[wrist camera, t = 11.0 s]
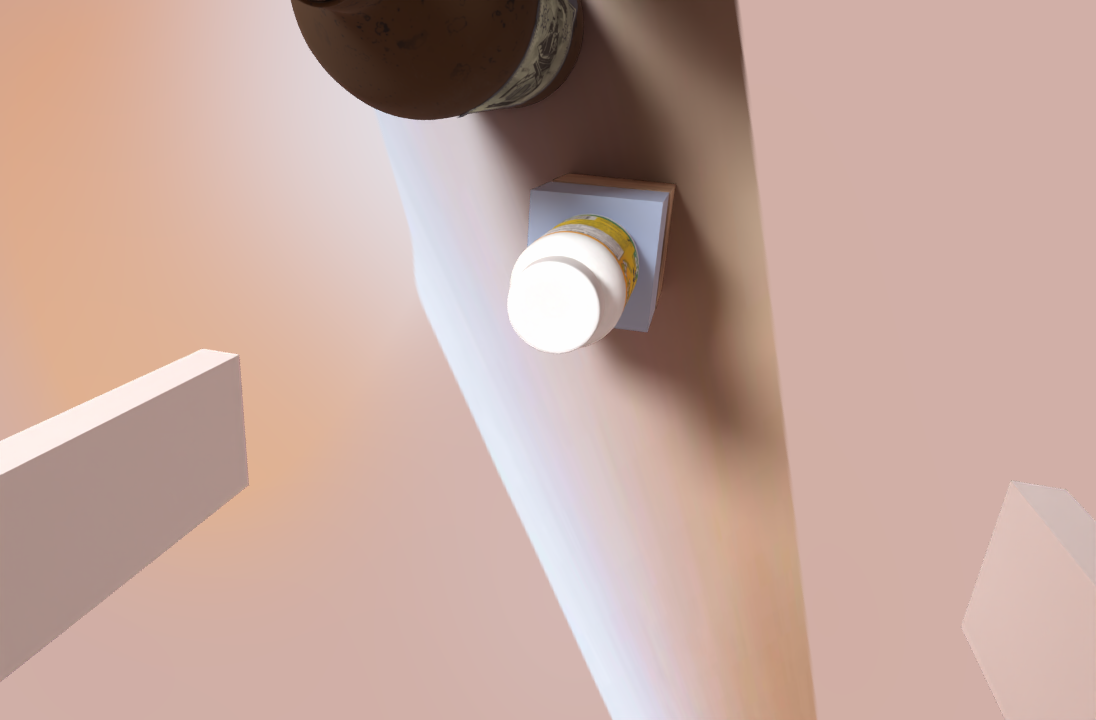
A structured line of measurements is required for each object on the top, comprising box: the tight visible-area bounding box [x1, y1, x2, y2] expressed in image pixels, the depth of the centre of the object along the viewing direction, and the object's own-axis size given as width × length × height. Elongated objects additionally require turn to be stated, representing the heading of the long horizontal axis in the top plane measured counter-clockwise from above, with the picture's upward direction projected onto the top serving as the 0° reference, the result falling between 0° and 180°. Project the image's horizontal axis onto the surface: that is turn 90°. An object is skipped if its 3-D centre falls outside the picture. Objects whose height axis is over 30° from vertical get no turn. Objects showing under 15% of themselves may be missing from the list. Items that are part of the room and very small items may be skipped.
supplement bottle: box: [507, 214, 639, 354], centre depth 34 cm, size 5×5×10 cm
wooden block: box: [553, 173, 676, 309], centre depth 45 cm, size 7×7×5 cm
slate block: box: [527, 182, 669, 332], centre depth 41 cm, size 7×7×5 cm
